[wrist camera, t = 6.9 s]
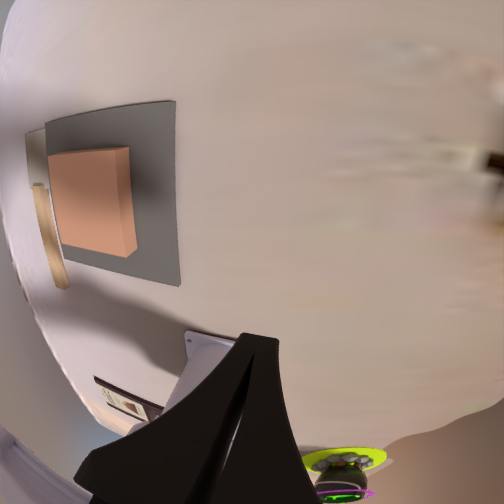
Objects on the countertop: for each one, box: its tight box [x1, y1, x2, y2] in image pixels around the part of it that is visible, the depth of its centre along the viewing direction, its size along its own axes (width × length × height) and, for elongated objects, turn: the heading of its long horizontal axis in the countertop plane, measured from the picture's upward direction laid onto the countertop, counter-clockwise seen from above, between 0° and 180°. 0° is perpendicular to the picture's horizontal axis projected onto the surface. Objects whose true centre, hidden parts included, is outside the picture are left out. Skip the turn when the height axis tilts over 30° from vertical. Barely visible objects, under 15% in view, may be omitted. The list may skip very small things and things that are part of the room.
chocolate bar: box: [94, 376, 164, 422], centre depth 37 cm, size 9×1×18 cm
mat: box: [45, 101, 181, 287], centre depth 20 cm, size 14×14×1 cm
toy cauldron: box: [302, 447, 387, 504], centre depth 29 cm, size 15×15×11 cm
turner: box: [25, 129, 70, 290], centre depth 22 cm, size 18×4×1 cm, turn 177°
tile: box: [48, 147, 137, 258], centre depth 19 cm, size 8×2×8 cm
